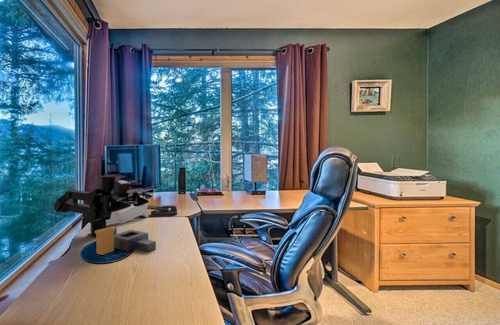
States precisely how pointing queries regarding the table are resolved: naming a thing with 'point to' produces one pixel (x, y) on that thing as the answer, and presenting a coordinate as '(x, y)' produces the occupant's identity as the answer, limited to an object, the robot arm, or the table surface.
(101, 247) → the tan stepped block
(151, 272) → the table surface
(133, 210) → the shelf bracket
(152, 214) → the black stapler
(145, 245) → the ring lock bracket
